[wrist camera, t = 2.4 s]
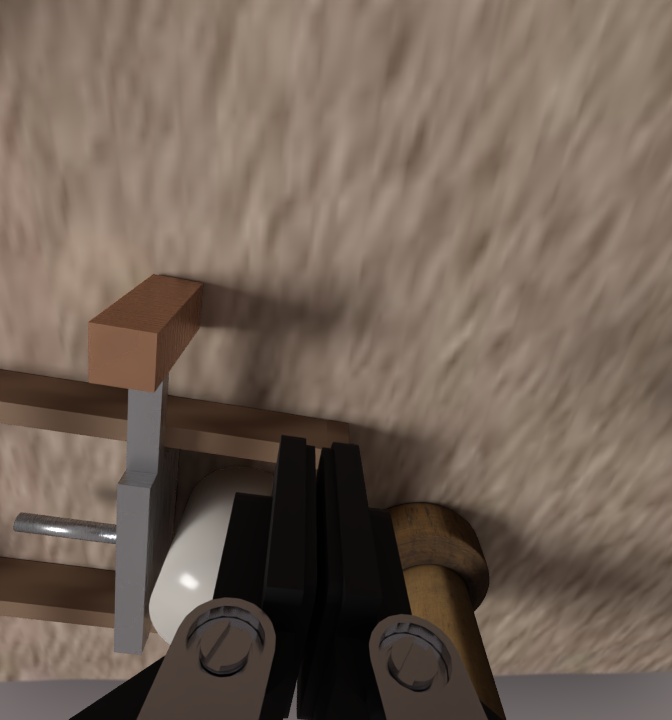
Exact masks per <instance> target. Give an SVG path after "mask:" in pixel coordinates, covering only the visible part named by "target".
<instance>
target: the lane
mask: <svg viewBox="0 0 672 720" xmlns="http://www.w3.org/2000/svg"><path fill="white" fill-rule="evenodd" d="M0 423H4V424H11V425H18V426H25V427H31V428H38V429H45V430H52V431H59V432H66V433H73V434H80V435H87V436H94V437H100V438H107V439H114V440H121V441H127V424H128V389H123V388H117V387H110V386H104V385H97V384H91V383H84V382H78V381H71V380H65V379H58V378H52V377H45V376H39V375H32V374H26V373H19V372H13V371H6V370H0ZM281 435H287V436H295V437H302V438H306V445H311V446H315V454H316V469H318V464H319V459H320V455H321V450H322V448H323V447H326V448H331V445H332V443H333V442H339V443H347V444H350V442H349V429H348V423H344V422H337V421H331V420H324V419H318V418H311V417H305V416H298V415H292V414H285V413H279V412H272V411H266V410H259V409H253V408H246V407H240V406H233V405H227V404H220V403H214V402H207V401H201V400H194V399H188V398H181V397H175V396H168V398H167V414H166V430H165V446H164V447H169V448H176V449H183V450H190V451H197V452H204V453H211V454H218V455H225V456H232V457H238V458H245V459H252V460H259V461H266V462H273V463H276V462H277V456H278V450H279V444H280V439H281ZM316 474H317V470H316ZM115 577H116V571H108V570H100V569H92V568H84V567H76V566H68V565H59V564H51V563H43V562H35V561H27V560H19V559H10V558H2V557H0V615H1V616H10V617H19V618H28V619H37V620H45V621H54V622H63V623H72V624H81V625H90V626H99V627H108V628H114V627H115ZM150 632H152V633H158V632H157V631H156V629H155V628H154V626H153V625H152V628H151V630H150Z"/></svg>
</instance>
